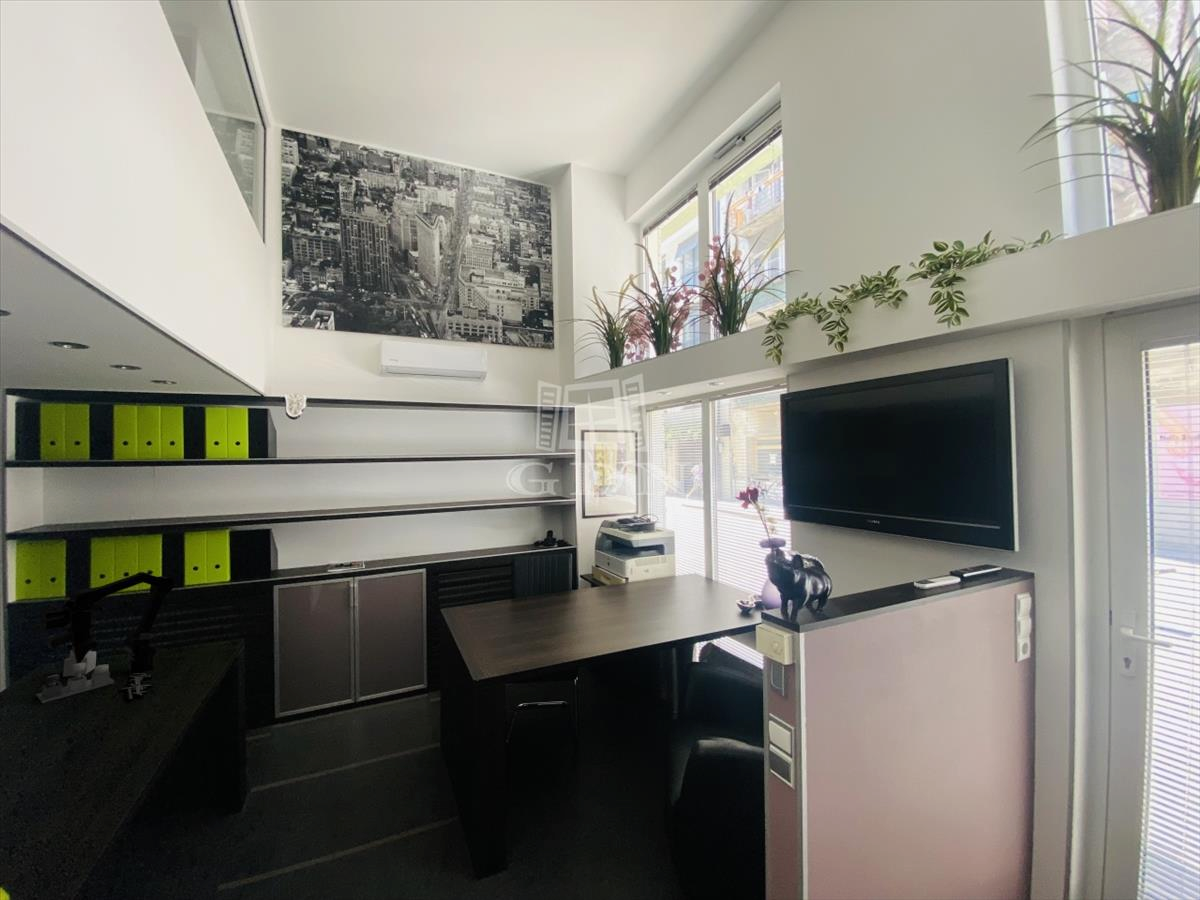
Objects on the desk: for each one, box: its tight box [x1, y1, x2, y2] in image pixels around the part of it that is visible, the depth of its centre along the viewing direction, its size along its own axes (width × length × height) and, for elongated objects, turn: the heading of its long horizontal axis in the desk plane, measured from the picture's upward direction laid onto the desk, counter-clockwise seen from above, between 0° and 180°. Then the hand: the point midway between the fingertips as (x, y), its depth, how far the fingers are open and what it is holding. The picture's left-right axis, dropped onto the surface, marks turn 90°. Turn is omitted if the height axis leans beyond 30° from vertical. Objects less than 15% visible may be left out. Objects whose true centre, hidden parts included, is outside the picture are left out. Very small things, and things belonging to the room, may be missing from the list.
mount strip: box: [36, 670, 115, 704], centre depth 182 cm, size 19×9×4 cm, turn 149°
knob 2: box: [93, 663, 109, 675], centre depth 188 cm, size 4×4×6 cm
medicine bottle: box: [62, 649, 97, 678], centre depth 196 cm, size 7×7×12 cm
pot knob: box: [45, 673, 60, 687], centre depth 177 cm, size 3×3×4 cm
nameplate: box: [117, 672, 154, 703], centre depth 185 cm, size 28×2×10 cm
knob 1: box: [70, 663, 86, 681], centre depth 182 cm, size 4×4×6 cm
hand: (78, 662), depth 183 cm, fingers closed
